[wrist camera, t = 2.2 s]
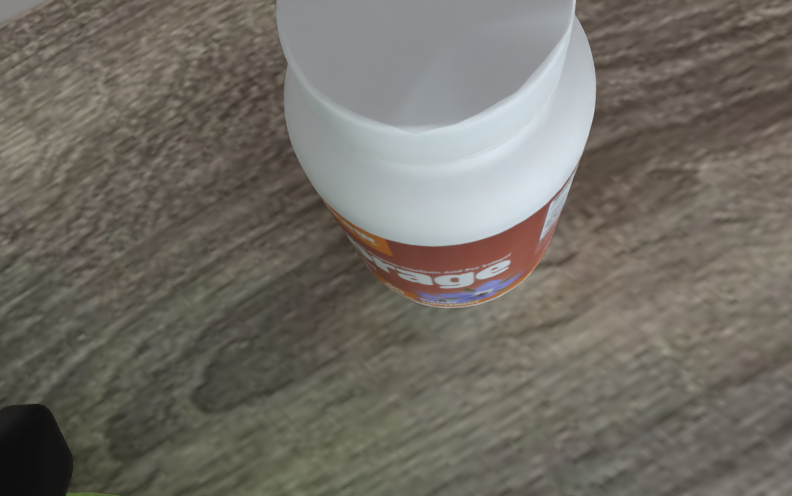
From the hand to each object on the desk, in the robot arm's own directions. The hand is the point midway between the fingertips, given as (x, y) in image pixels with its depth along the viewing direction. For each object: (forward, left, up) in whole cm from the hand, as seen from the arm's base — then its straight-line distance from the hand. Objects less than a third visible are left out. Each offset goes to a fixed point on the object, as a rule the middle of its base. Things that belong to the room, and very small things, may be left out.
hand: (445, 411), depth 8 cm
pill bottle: (+2, +6, -13) cm, 14 cm away
